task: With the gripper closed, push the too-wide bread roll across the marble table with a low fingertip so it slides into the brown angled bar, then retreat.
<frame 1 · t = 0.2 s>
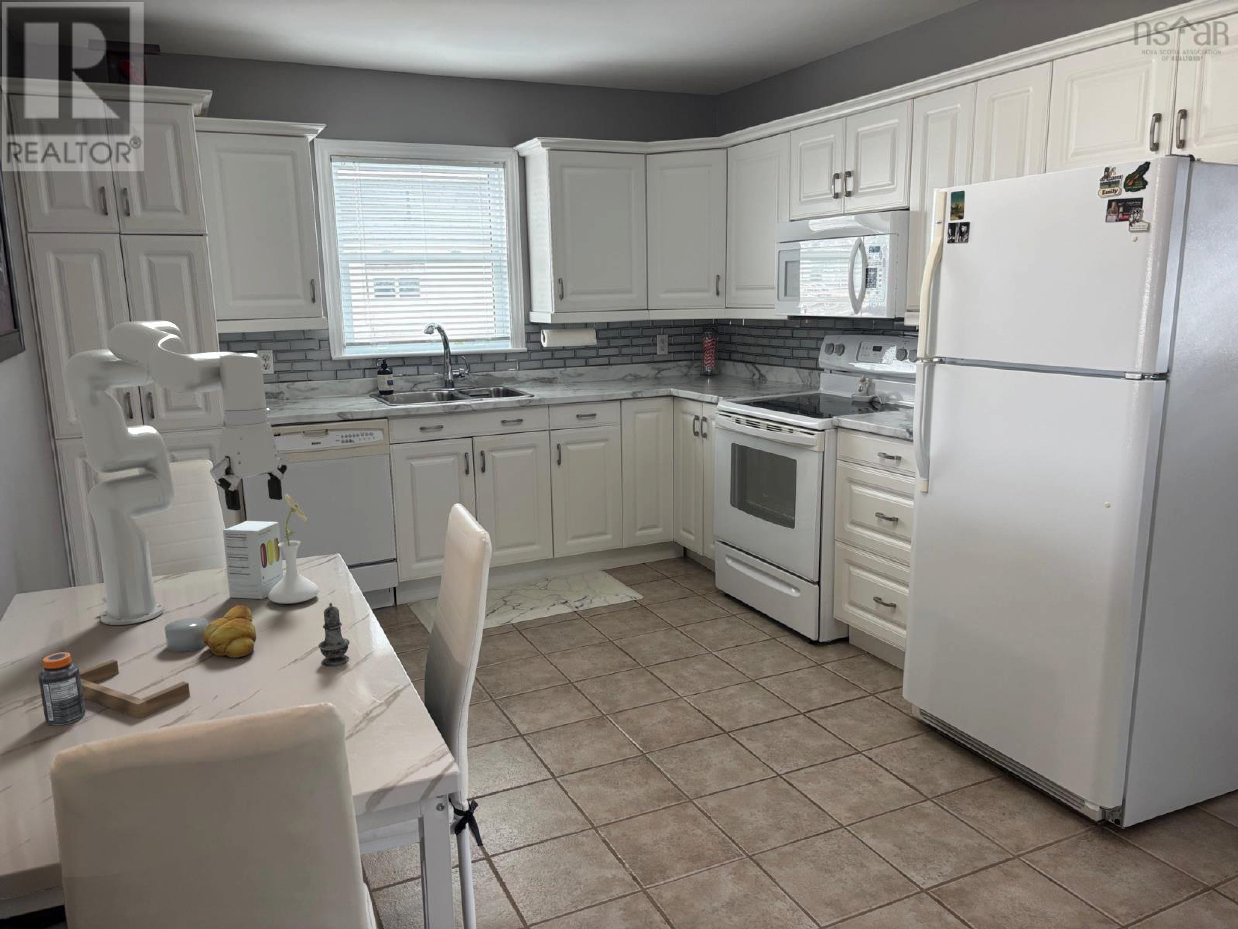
hand: (255, 504, 175), 30 cm above the table, fingers open, 9 cm apart
bread roll: (232, 652, 181), on the table
grey glossy rounded piece: (188, 645, 185), on the table
pill bottle: (65, 719, 153), on the table
supplement box: (257, 593, 217), on the table
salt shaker: (335, 661, 175), on the table
flower in vase: (295, 599, 212), on the table
brown angled bar: (148, 684, 166), on the table
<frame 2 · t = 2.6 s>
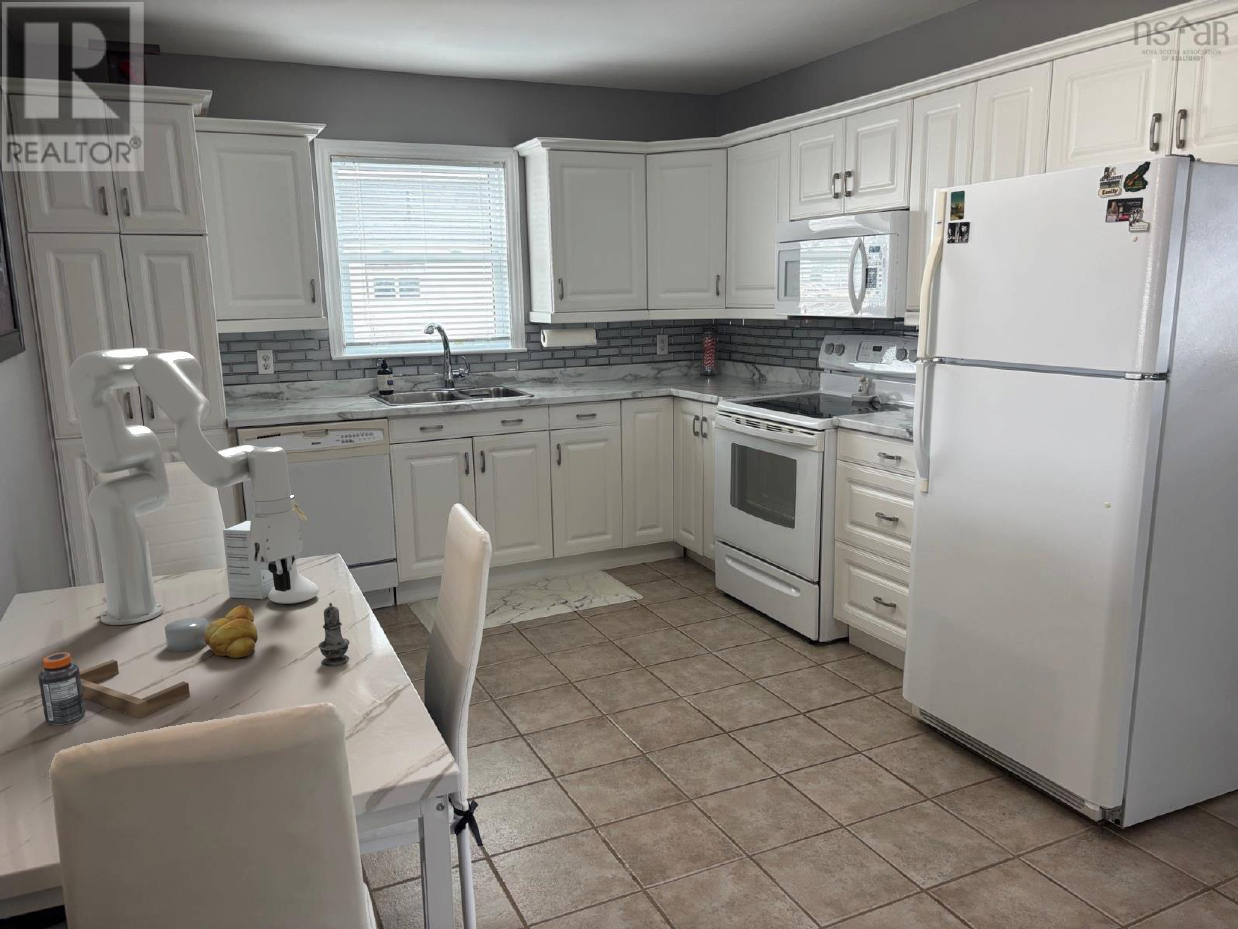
hand: (283, 589, 190), 9 cm above the table, fingers closed
nothing on the table moved.
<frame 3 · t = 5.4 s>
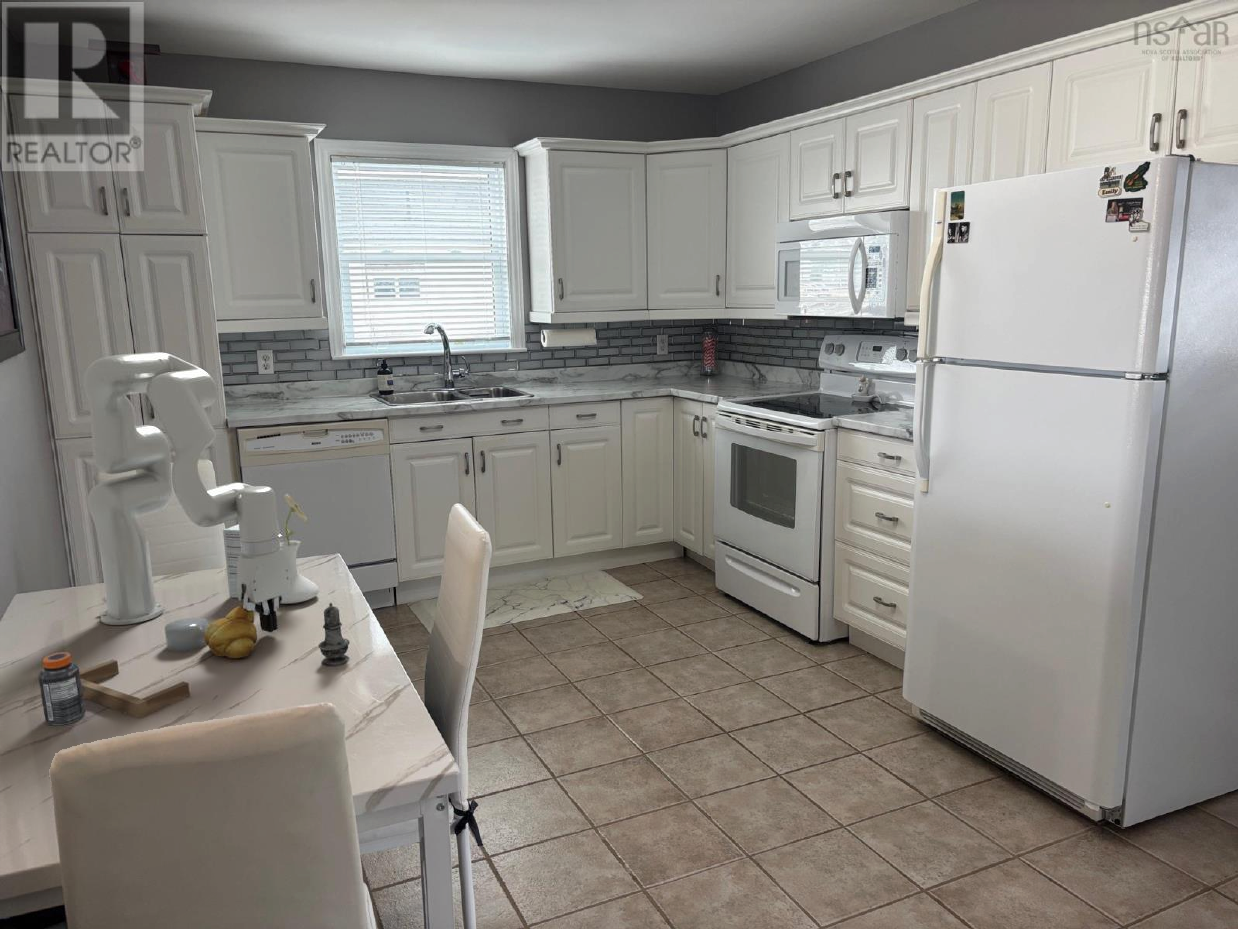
hand: (269, 629, 188), 1 cm above the table, fingers closed
bread roll: (233, 652, 180), on the table, touching gripper
everything else where it was.
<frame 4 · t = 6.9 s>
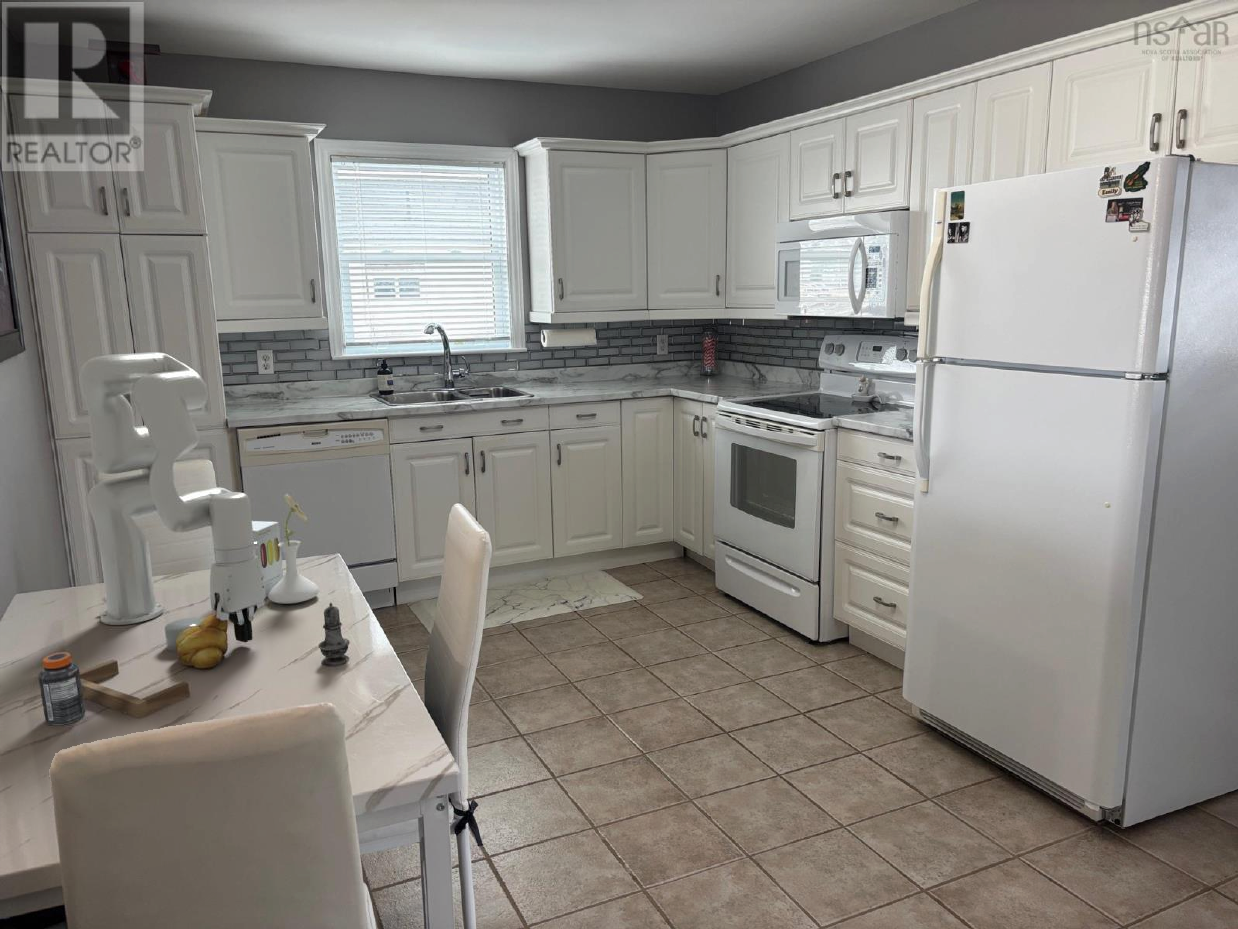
hand: (244, 640, 183), 1 cm above the table, fingers closed
bread roll: (203, 661, 176), on the table, touching gripper
everything else where it was.
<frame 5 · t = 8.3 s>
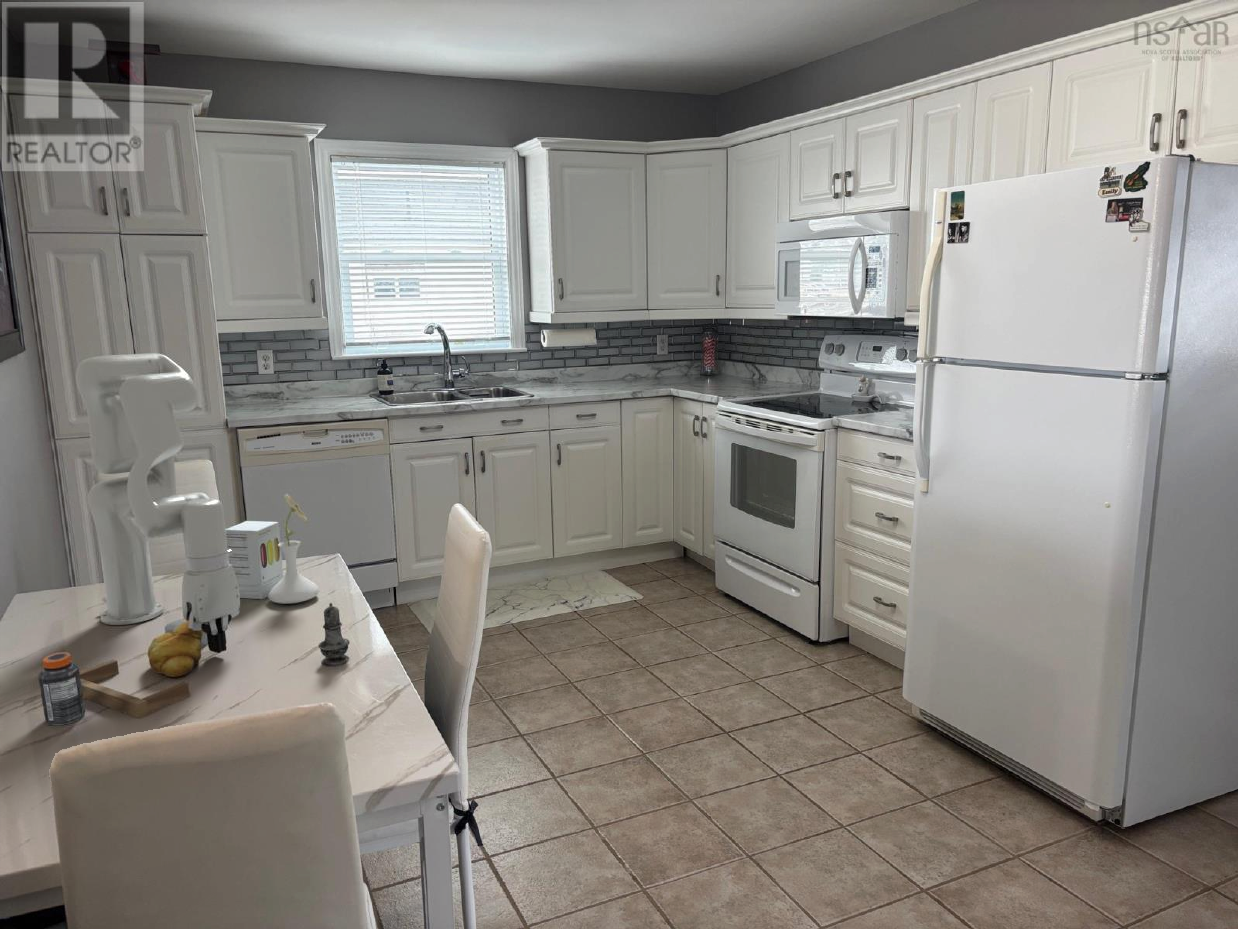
hand: (218, 650, 178), 1 cm above the table, fingers closed
bread roll: (176, 669, 173), on the table, touching gripper
everything else where it was.
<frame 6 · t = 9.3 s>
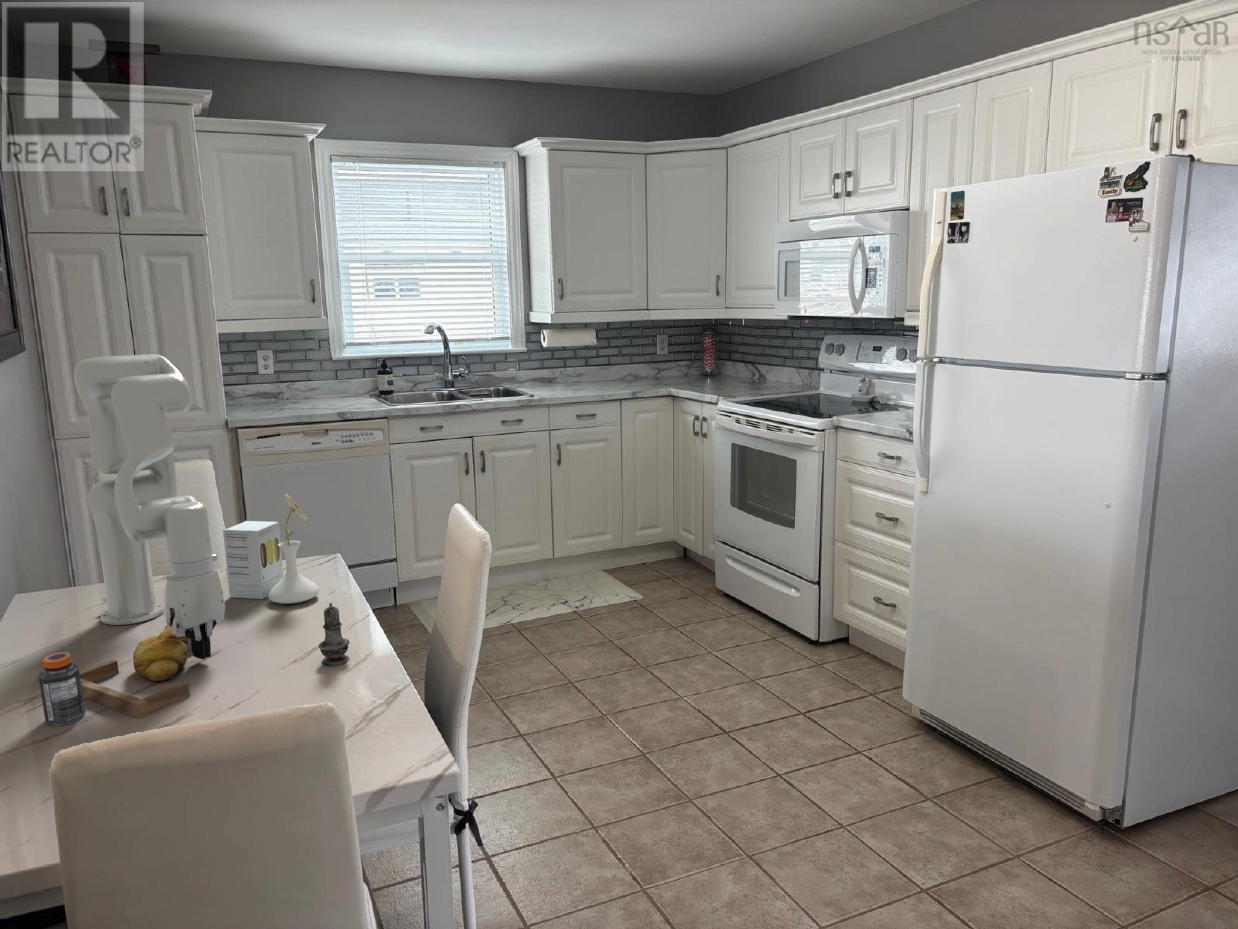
hand: (202, 656, 175), 1 cm above the table, fingers closed
bread roll: (161, 673, 171), on the table, touching gripper
everything else where it was.
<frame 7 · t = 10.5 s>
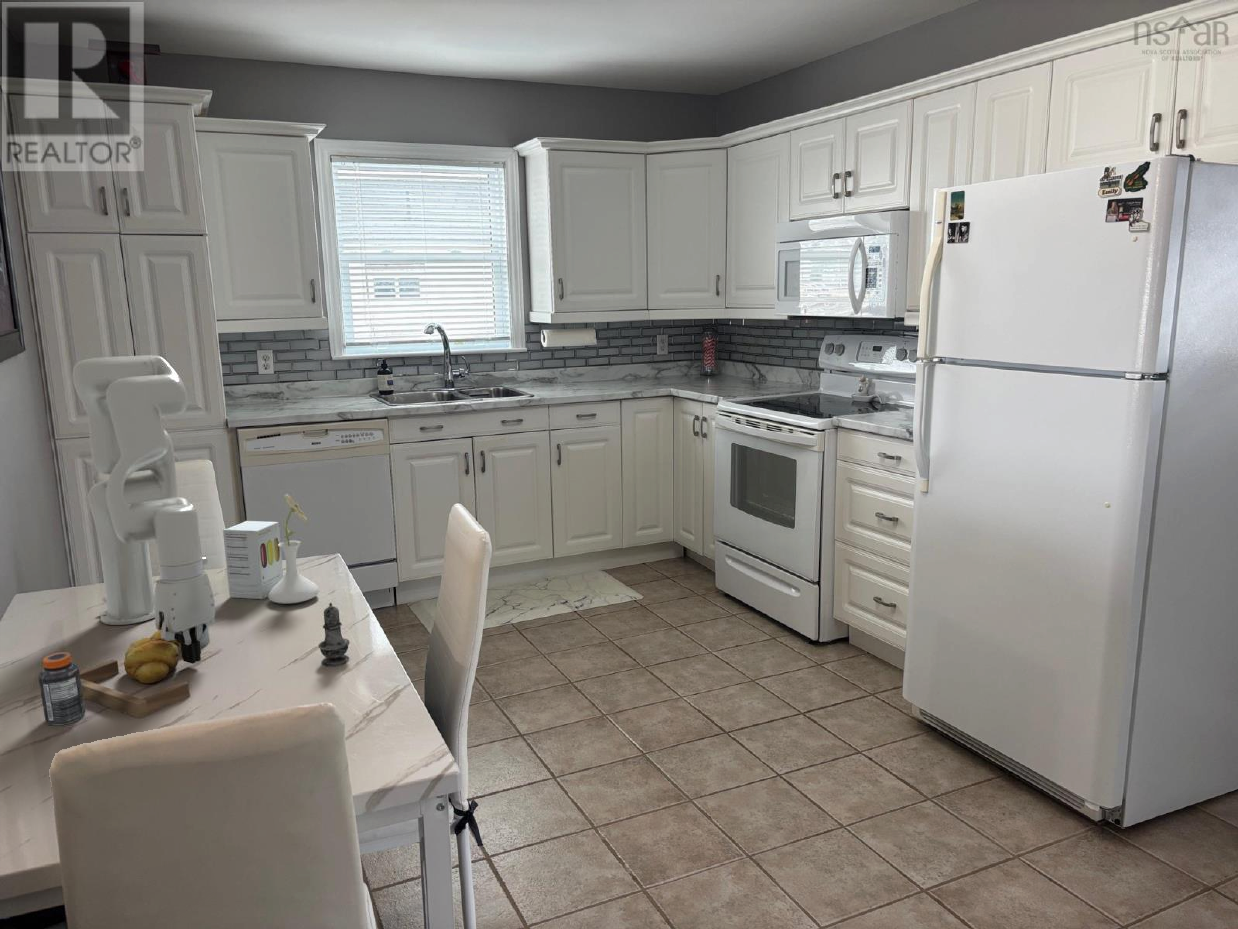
hand: (192, 660, 173), 1 cm above the table, fingers closed
bread roll: (152, 675, 170), on the table, touching gripper
everything else where it was.
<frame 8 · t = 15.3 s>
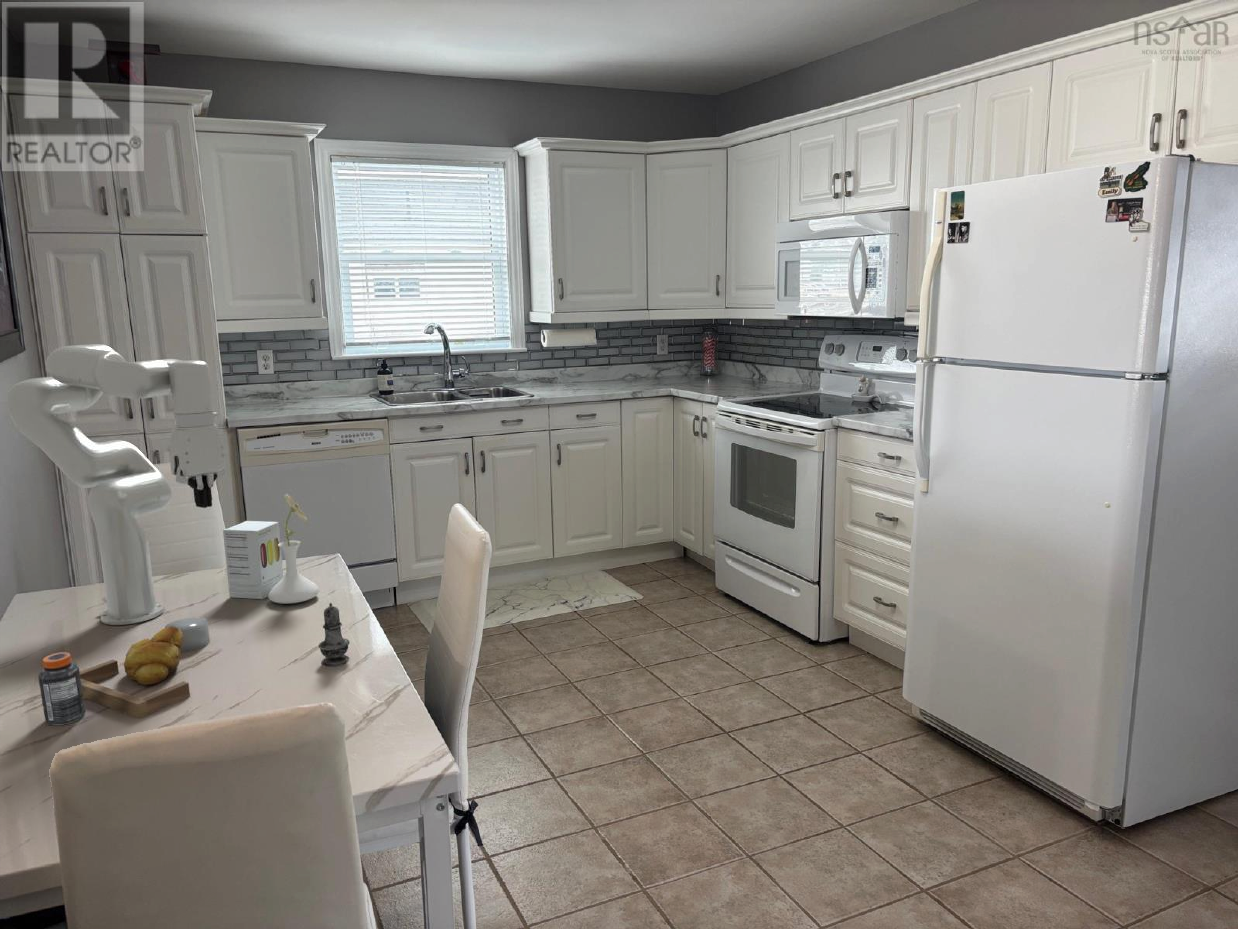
hand: (204, 506, 189), 27 cm above the table, fingers closed
bread roll: (152, 676, 170), on the table
everything else where it was.
at the end: bread roll inside the target area (4.6 cm from its centre), on the table; bread roll moved 15.4 cm from its start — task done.
